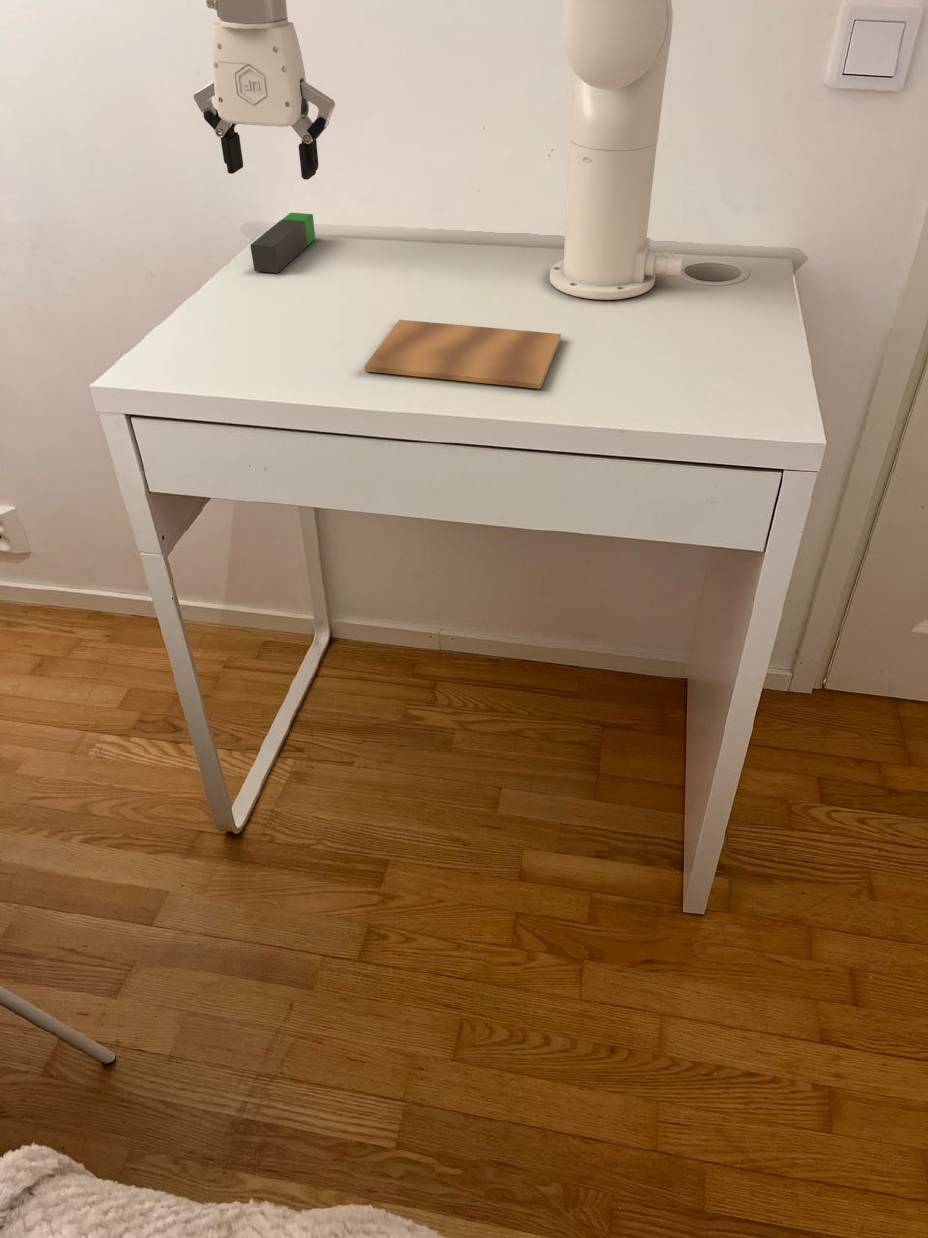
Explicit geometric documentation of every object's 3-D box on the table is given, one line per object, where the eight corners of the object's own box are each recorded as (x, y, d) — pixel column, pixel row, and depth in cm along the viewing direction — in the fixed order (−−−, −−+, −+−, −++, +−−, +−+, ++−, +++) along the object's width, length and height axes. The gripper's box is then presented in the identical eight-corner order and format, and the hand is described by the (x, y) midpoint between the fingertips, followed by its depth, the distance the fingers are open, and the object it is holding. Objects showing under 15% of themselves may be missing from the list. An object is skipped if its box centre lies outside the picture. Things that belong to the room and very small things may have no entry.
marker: (278, 272, 116) (274, 246, 114) (254, 270, 117) (250, 244, 115) (315, 238, 126) (312, 213, 124) (293, 236, 126) (290, 212, 124)
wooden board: (560, 338, 100) (561, 333, 100) (540, 388, 91) (540, 383, 91) (399, 324, 103) (399, 319, 103) (364, 371, 94) (364, 365, 94)
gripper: (165, 10, 103) (193, 176, 114) (313, 16, 99) (328, 187, 111) (196, 0, 108) (220, 160, 119) (337, 6, 105) (349, 170, 116)
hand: (272, 173), depth 115 cm, fingers open, 9 cm apart
